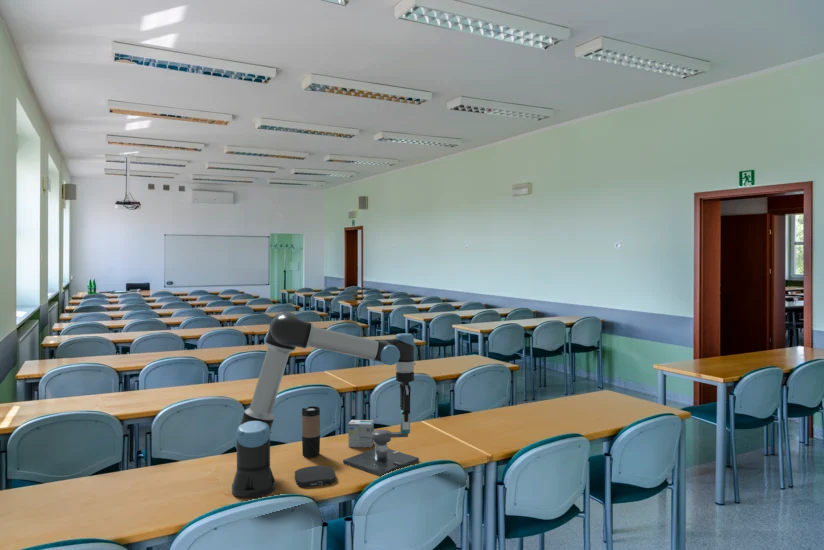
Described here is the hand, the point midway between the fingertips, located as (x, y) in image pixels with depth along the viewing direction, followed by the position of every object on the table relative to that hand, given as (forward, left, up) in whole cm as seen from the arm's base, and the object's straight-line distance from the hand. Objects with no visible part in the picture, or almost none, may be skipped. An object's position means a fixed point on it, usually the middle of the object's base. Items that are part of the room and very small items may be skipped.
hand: (405, 427), depth 231 cm
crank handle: (-4, +4, -5) cm, 8 cm away
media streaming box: (-36, +14, -15) cm, 41 cm away
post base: (-7, +7, -14) cm, 17 cm away
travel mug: (-20, +36, -14) cm, 44 cm away
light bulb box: (+3, +29, -14) cm, 32 cm away
